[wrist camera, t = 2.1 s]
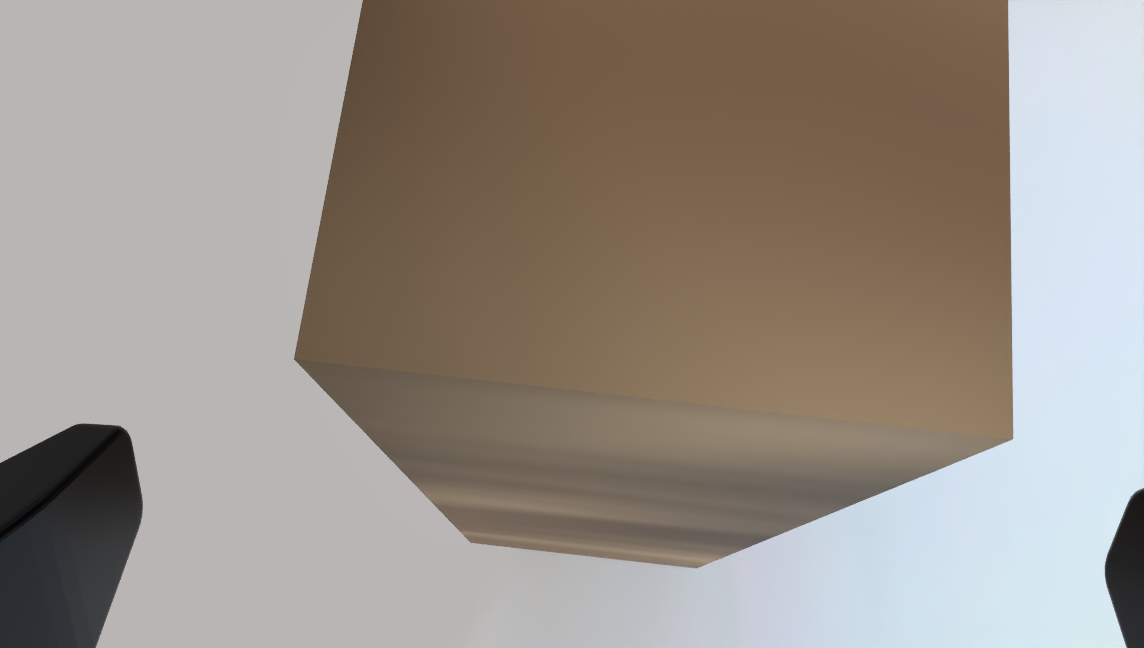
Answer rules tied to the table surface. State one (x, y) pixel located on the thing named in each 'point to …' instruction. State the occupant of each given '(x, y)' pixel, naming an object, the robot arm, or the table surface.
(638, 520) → the brown wooden block
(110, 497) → the robot arm
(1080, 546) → the table surface
